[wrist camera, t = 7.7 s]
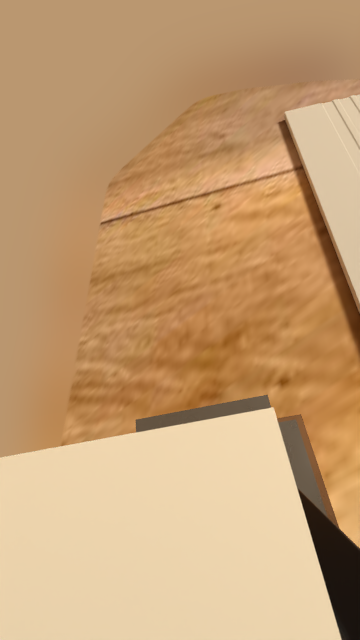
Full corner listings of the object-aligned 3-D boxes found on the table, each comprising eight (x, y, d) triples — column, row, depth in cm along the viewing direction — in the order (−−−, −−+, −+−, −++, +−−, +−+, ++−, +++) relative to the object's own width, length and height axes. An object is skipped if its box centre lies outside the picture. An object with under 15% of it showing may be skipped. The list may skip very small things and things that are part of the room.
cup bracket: (379, 662, 13) (459, 768, 8) (148, 680, 14) (85, 783, 9) (298, 418, 18) (314, 385, 13) (137, 447, 19) (94, 427, 14)
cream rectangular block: (292, 601, 11) (565, 1398, 1) (187, 612, 12) (-240, 1248, 2) (262, 480, 13) (273, 406, 3) (175, 493, 14) (-43, 465, 4)
